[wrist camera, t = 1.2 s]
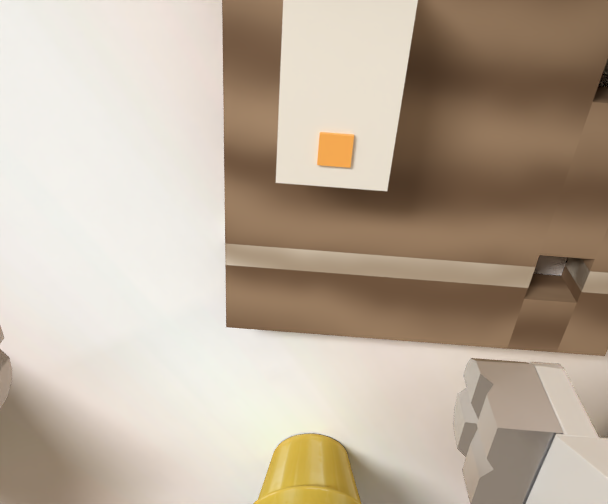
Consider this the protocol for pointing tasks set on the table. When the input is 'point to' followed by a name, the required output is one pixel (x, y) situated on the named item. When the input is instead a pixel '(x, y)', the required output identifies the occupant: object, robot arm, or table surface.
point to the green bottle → (606, 68)
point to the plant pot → (309, 473)
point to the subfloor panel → (434, 187)
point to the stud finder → (341, 90)
